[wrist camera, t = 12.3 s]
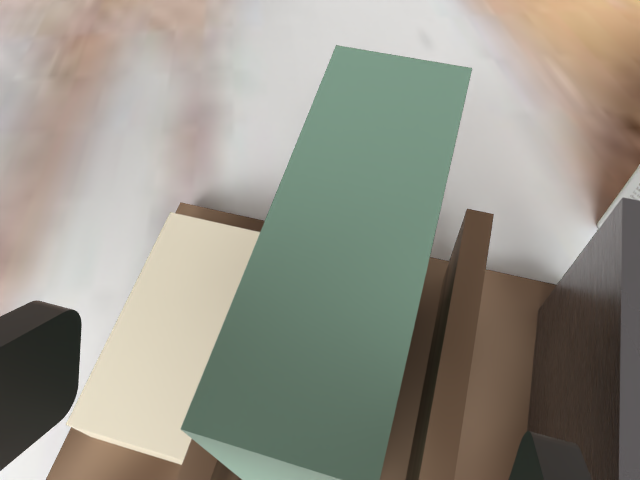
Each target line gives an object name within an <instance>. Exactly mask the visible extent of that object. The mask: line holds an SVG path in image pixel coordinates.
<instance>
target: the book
mask: <svg viewBox="0 0 640 480" xmlns="http://www.w3.org/2000/svg"><path fill="white" fill-rule="evenodd" d="M471 71H472V68H468V67H462V66H456V65H450V64H444V63H438V62H432V61H426V60H421V59H415V58H409V57H403V56H397V55H391V54H385V53H379V52H373V51H367V50H361V49H355V48H349V47H343V46H338V45H336V47H335V49H334V52H333V54H332V57H331V59H330V62H329V64H328V67H327V69H326V72H325V74H324V77H323V79H322V81H321V84H320V86H319V89H318V91H317V94H316V96H315V99H314V101H313V104H312V106H311V109H310V111H309V113H308V116H307V118H306V121H305V123H304V126H303V128H302V131H301V133H300V136H299V138H298V141H297V143H296V145H295V148H294V150H293V153H292V155H291V158H290V160H289V163H288V165H287V168H286V170H285V173H284V175H283V178H282V180H281V182H280V185H279V187H278V190H277V192H276V195H275V197H274V200H273V202H272V205H271V207H270V210H269V212H268V214H267V217H266V219H265V222H264V224H263V227H262V229H261V232H260V234H259V237H258V239H257V242H256V244H255V246H254V249H253V251H252V254H251V256H250V259H249V261H248V264H247V266H246V269H245V271H244V274H243V276H242V279H241V281H240V283H239V286H238V288H237V291H236V293H235V296H234V298H233V301H232V303H231V306H230V308H229V311H228V313H227V315H226V318H225V320H224V323H223V325H222V328H221V330H220V333H219V335H218V338H217V340H216V343H215V345H214V347H213V350H212V352H211V355H210V357H209V360H208V362H207V365H206V367H205V370H204V372H203V375H202V377H201V380H200V382H199V384H198V387H197V389H196V392H195V394H194V397H193V399H192V402H191V404H190V407H189V409H188V412H187V414H186V416H185V419H184V421H183V424H182V426H181V430H182V431H183V432H184V433H186V434H187V435H188V436H189V437H191V438H192V439H193V440H194V441H195V442H197V443H198V444H199V445H200V446H202V447H203V448H204V449H205V450H206V451H208V452H209V453H210V454H211V455H213V456H214V457H215V458H216V459H217V460H219V461H220V462H221V463H222V464H224V465H225V466H226V467H227V468H228V469H230V470H231V471H232V472H233V473H235V474H236V475H237V476H238V477H239V478H241V479H242V480H380V476H381V472H382V467H383V463H384V458H385V454H386V450H387V445H388V441H389V436H390V432H391V427H392V423H393V418H394V414H395V410H396V405H397V401H398V396H399V392H400V387H401V383H402V378H403V374H404V369H405V365H406V361H407V356H408V352H409V347H410V343H411V338H412V334H413V329H414V325H415V320H416V316H417V312H418V307H419V303H420V298H421V294H422V289H423V285H424V280H425V276H426V272H427V267H428V263H429V258H430V254H431V249H432V245H433V240H434V236H435V231H436V227H437V223H438V218H439V214H440V209H441V205H442V200H443V196H444V191H445V187H446V182H447V178H448V174H449V169H450V165H451V160H452V156H453V151H454V147H455V142H456V138H457V134H458V129H459V125H460V120H461V116H462V111H463V107H464V102H465V98H466V93H467V89H468V85H469V80H470V76H471Z"/></svg>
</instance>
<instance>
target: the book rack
mask: <svg viewBox="0 0 640 480" xmlns="http://www.w3.org/2000/svg"><path fill="white" fill-rule="evenodd" d="M176 214H181V215H185V216H190V217H194V218H198V219H203V220H207V221H212V222H216V223H221V224H225V225H230V226H234V227H239V228H243V229H248V230H252V231H257V232H261V229H262V227H263V224H264V222H265V221H263V220H258V219H254V218H249V217H245V216H240V215H235V214H231V213H226V212H222V211H217V210H213V209H208V208H203V207H199V206H194V205H190V204H185V203H180V205H179V207H178V209H177V211H176ZM493 215H494V214H490V213H485V212H480V211H475V210H471V209H467V210H466V213H465V216H464V219H463V222H462V225H461V228H460V231H459V234H458V237H457V240H456V243H455V246H454V249H453V252H452V255H451V258H450V261H445V260H441V259H436V258H431V257H430V258H429V263H428V267H427V272H426V276H425V280H424V285H423V289H422V294H421V298H420V303H419V307H418V312H417V316H416V320H415V325H414V329H413V334H412V338H411V343H410V347H409V352H408V356H407V361H406V365H405V369H404V374H403V378H402V383H401V387H400V392H399V396H398V401H397V405H396V410H395V414H394V418H393V423H392V427H391V432H390V436H389V441H388V445H387V450H386V454H385V458H384V463H383V467H382V472H381V476H380V480H509V477H510V474H511V471H512V467H513V464H514V461H515V458H516V455H517V451H518V448H519V445H520V442H521V440H522V437H523V436H524V434H525V433H526V432H527V424H528V414H529V403H530V392H531V381H532V370H533V360H534V349H535V338H536V327H537V316H538V310H539V308H540V307H541V306H542V304H543V303H544V302H545V300H546V299H547V298H548V296H549V295H550V294H551V292H552V291H553V289H554V288H555V287H556V285H555V284H550V283H545V282H541V281H536V280H532V279H527V278H523V277H518V276H514V275H509V274H504V273H500V272H495V271H491V270H486V263H487V256H488V249H489V242H490V236H491V229H492V222H493ZM46 480H242V479H241V478H239V477H238V476H237V475H236V474H235V473H233V472H232V471H231V470H230V469H228V468H227V467H226V466H225V465H224V464H222V463H221V462H220V461H219V460H217V459H216V458H215V457H214V456H213V455H211V454H210V453H209V452H208V451H206V450H205V449H204V448H203V447H202V446H200V445H199V444H198V443H197V442H195V441H194V440H193V439H191V442H190V444H189V447H188V450H187V452H186V455H185V458H184V460H183V463H182V465H180V464H177V463H174V462H171V461H167V460H164V459H161V458H158V457H154V456H151V455H148V454H145V453H141V452H138V451H135V450H132V449H128V448H125V447H122V446H119V445H115V444H112V443H109V442H106V441H102V440H99V439H96V438H93V437H90V436H88V435H86V434H84V433H82V432H80V431H78V430H76V429H74V428H72V427H71V429H70V431H69V433H68V435H67V437H66V439H65V441H64V443H63V445H62V448H61V450H60V452H59V454H58V456H57V458H56V460H55V462H54V464H53V466H52V468H51V470H50V472H49V474H48V476H47V478H46Z"/></svg>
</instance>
